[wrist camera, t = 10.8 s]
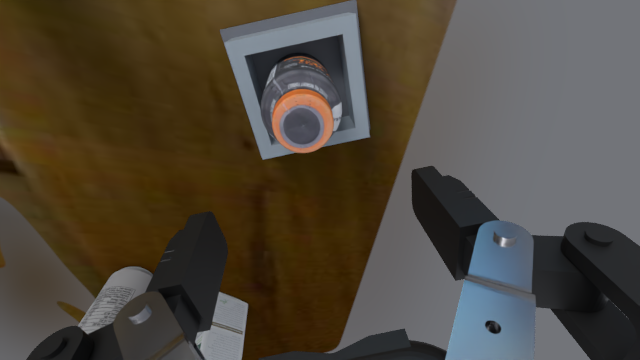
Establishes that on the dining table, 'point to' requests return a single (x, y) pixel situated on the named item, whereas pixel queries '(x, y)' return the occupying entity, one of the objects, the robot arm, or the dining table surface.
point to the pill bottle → (300, 103)
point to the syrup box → (225, 330)
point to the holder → (311, 38)
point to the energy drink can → (115, 297)
